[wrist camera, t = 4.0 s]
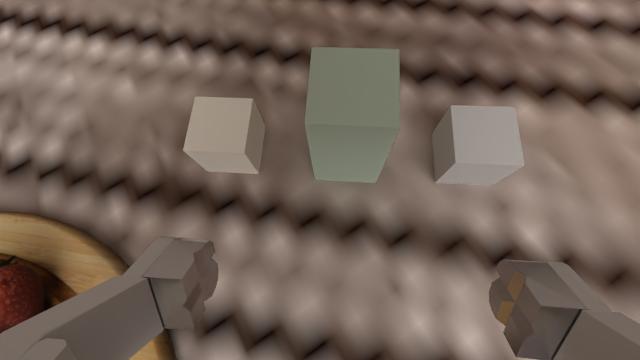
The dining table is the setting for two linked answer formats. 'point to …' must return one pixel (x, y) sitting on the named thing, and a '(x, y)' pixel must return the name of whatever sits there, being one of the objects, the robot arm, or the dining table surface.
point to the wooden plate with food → (55, 271)
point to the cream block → (225, 135)
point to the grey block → (476, 145)
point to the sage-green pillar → (352, 111)
